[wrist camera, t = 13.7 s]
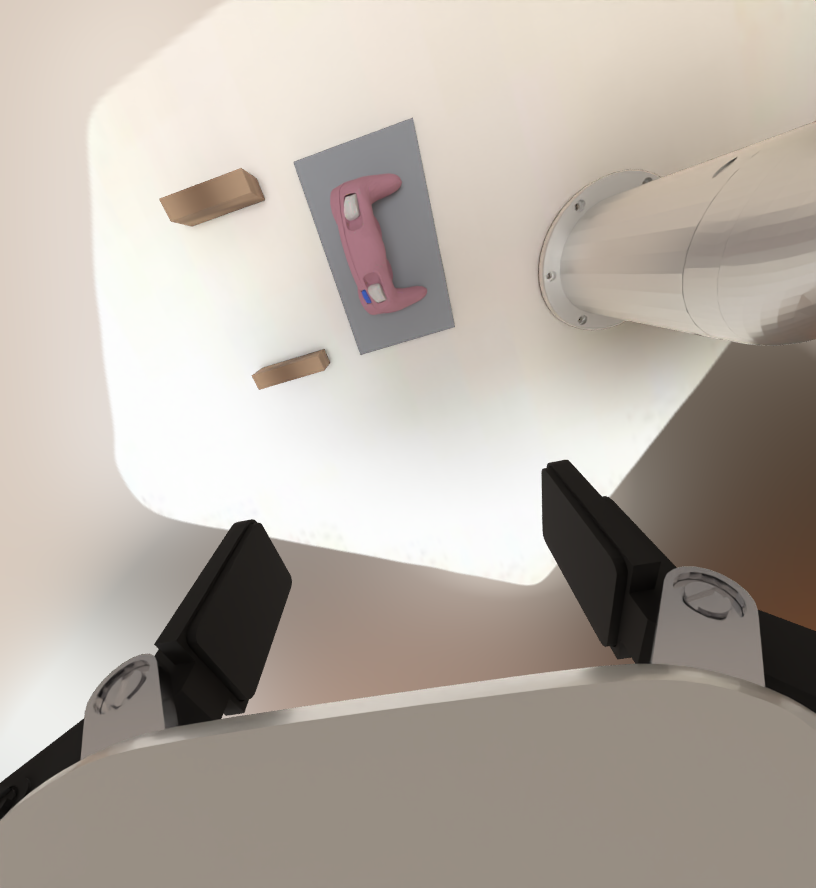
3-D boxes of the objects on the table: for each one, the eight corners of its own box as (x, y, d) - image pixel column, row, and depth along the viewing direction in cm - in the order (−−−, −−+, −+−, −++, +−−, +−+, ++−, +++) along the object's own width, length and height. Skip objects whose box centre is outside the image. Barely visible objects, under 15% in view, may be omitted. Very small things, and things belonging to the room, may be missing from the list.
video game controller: (358, 191, 28) (307, 186, 23) (403, 168, 26) (358, 158, 21) (391, 308, 33) (355, 326, 27) (432, 297, 30) (401, 315, 25)
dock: (256, 178, 27) (241, 168, 24) (330, 362, 34) (324, 370, 31) (181, 206, 28) (158, 198, 25) (269, 380, 35) (258, 389, 32)
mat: (412, 121, 25) (412, 117, 25) (453, 326, 33) (454, 326, 32) (295, 164, 26) (293, 162, 26) (361, 353, 34) (360, 354, 33)
